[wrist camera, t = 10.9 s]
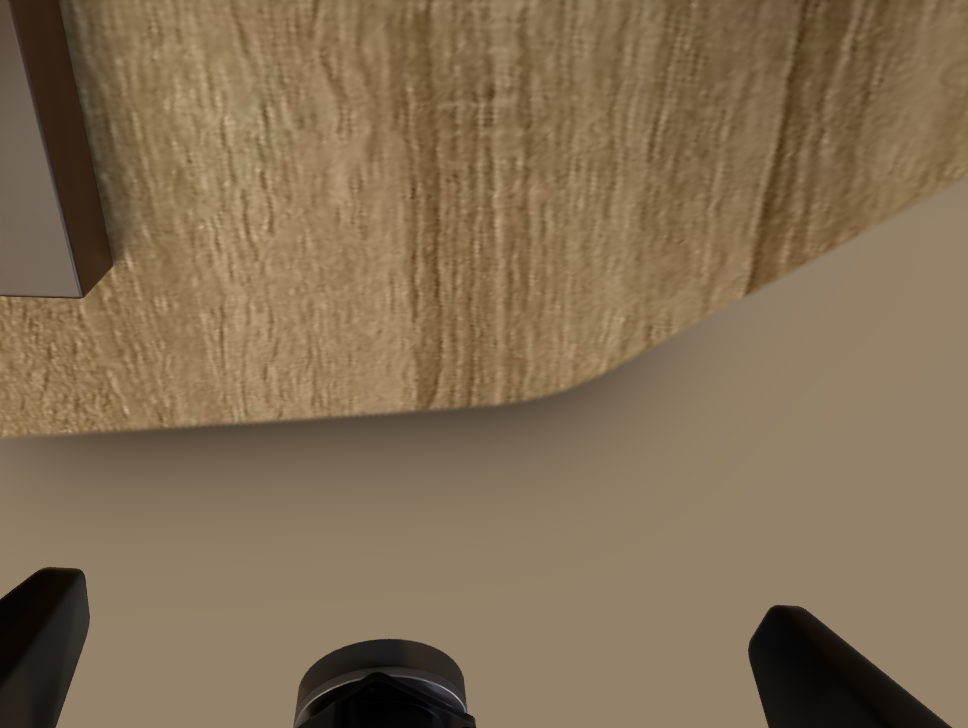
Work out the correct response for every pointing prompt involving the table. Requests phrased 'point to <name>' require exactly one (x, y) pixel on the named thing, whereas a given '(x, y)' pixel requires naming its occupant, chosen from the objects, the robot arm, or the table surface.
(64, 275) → the button block
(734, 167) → the table surface
